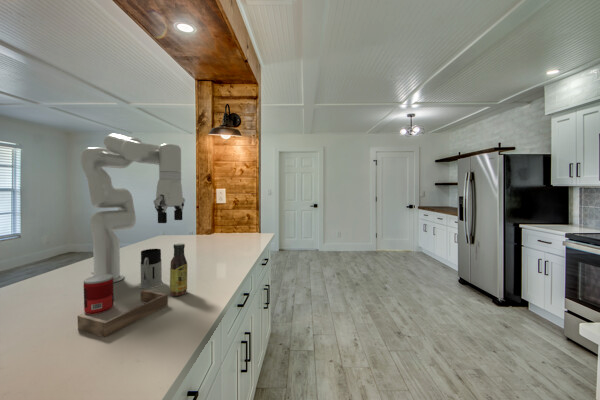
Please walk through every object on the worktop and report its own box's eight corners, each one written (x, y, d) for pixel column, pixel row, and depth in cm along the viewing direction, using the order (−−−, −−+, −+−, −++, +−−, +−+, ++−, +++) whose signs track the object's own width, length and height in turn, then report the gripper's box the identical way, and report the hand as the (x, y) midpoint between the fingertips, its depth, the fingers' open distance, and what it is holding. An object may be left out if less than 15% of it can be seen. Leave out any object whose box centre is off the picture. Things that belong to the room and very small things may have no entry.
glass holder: (164, 280, 115) (164, 247, 115) (157, 292, 102) (157, 255, 101) (142, 282, 113) (142, 249, 112) (132, 294, 99) (131, 257, 99)
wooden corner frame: (77, 329, 75) (77, 315, 74) (143, 300, 94) (143, 289, 94) (105, 337, 70) (105, 323, 70) (167, 305, 90) (167, 294, 90)
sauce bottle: (180, 297, 97) (179, 246, 96) (166, 296, 98) (165, 245, 97) (191, 291, 103) (190, 243, 103) (177, 289, 104) (177, 242, 104)
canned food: (118, 306, 89) (118, 275, 89) (94, 316, 82) (93, 283, 82) (104, 302, 92) (103, 273, 92) (78, 312, 84) (77, 280, 84)
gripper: (175, 178, 106) (175, 218, 106) (144, 175, 88) (145, 224, 89) (191, 178, 105) (192, 219, 105) (164, 175, 88) (165, 224, 88)
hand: (170, 221), depth 97 cm, fingers open, 9 cm apart
